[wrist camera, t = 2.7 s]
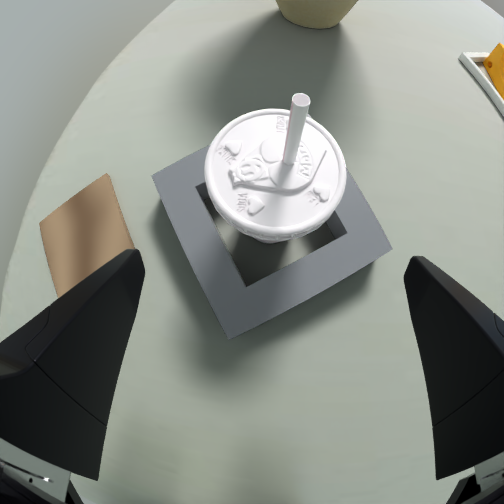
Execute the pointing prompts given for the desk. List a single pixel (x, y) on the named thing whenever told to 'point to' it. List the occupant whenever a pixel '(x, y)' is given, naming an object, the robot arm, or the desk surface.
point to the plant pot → (315, 12)
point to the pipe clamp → (496, 68)
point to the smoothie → (275, 173)
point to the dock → (280, 282)
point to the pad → (84, 234)
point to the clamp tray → (482, 76)
